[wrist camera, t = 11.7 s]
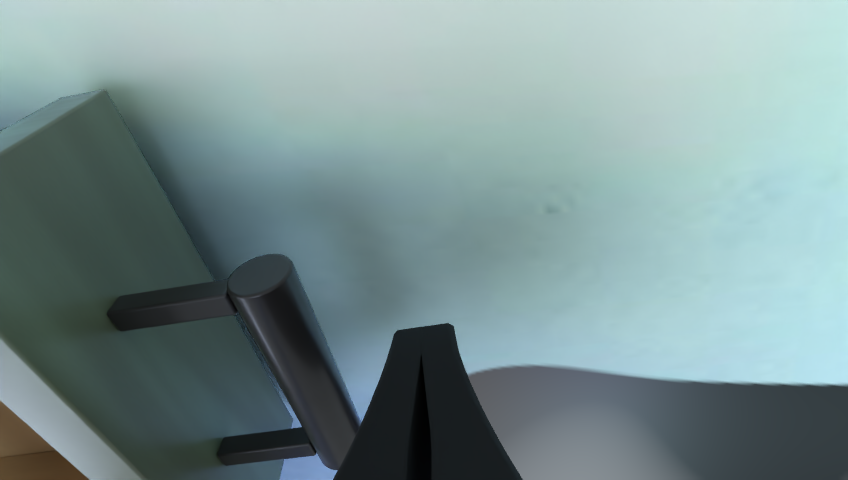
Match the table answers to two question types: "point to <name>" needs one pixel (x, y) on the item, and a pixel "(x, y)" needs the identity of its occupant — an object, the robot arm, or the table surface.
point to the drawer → (142, 325)
